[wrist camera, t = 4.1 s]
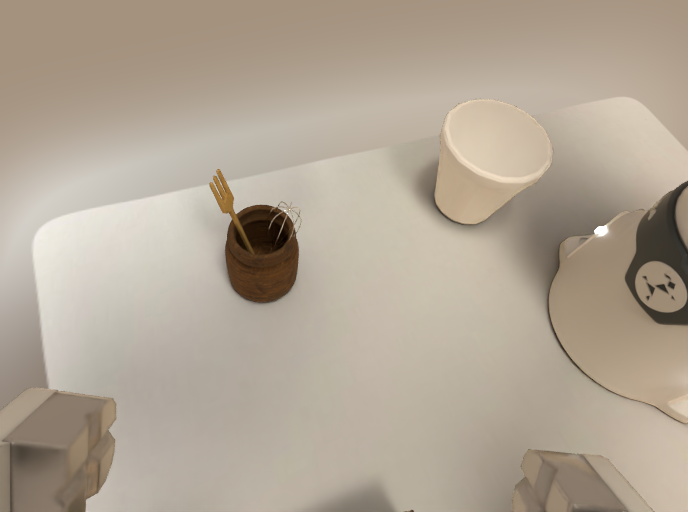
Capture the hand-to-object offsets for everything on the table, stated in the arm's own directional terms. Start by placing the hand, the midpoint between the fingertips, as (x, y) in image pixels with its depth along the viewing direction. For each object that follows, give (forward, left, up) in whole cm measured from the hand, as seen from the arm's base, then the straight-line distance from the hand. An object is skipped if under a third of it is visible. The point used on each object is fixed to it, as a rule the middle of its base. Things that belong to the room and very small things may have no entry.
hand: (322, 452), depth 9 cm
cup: (-26, -21, -28) cm, 43 cm away
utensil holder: (-4, -18, -28) cm, 33 cm away
